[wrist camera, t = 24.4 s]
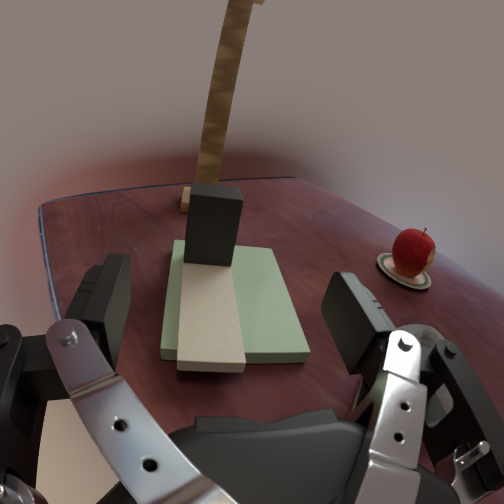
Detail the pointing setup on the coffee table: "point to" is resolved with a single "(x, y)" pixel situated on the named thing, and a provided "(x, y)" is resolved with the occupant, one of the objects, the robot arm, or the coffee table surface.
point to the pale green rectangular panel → (246, 308)
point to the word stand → (221, 93)
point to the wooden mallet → (210, 283)
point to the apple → (409, 259)
